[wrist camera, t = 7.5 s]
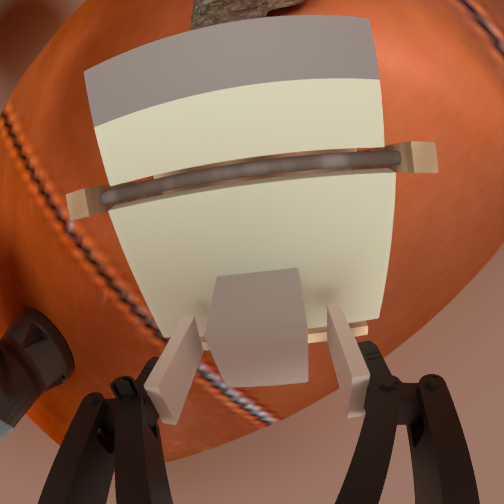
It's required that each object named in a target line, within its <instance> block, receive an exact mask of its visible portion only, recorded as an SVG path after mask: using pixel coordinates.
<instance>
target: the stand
mask: <svg viewBox="0 0 504 504" xmlns="http://www.w3.org/2000/svg"><path fill="white" fill-rule="evenodd" d="M382 168H390V169H391V170H393V171H394V172H407V173H438V163H437V153H436V145H435V142H419V141H409V142H404V143H398V144H393V145H388V146H384V147H378V148H374V149H369V150H364V151H360V152H357V148H344V149H327V150H314V151H302V152H292V153H282V154H273V155H265V156H258V157H250V158H243V159H236V160H230V161H224V162H218V163H212V164H206V165H201V166H196V167H190V168H185V169H181V170H176V171H171V172H166V173H162V174H158V175H153V177H154V179H152V180H147V181H137V182H128V183H121V184H117V185H114V186H110V185H104V186H97V187H90V188H84V189H81V190H78V191H75V192H72V193H69V194H66V199H67V205H68V211H69V216H70V221H73V220H76V219H80V218H84V217H88V216H92V215H95V214H98V213H102V212H105V211H108V210H110V209H111V208H112V207H113V206H114V205H117V204H122V203H126V202H130V201H135V200H139V199H144V198H149V197H154V196H159V195H164V194H169V193H174V192H179V191H184V190H190V189H196V188H201V187H207V186H213V185H220V184H226V183H233V182H240V181H247V180H254V179H262V178H270V177H279V176H287V175H297V174H307V173H318V172H330V171H344V170H361V169H382ZM348 324H349V326H350V328H351V331H352V333H353V335H354V337H355V336H361V335H367V334H368V324H367V323H366V321H359V322H353V323H348ZM200 339H201V343H202V347H203V350H210V349H209V347H208V344H207V342H206V340H205V337H200ZM322 341H327V326H325V327H317V328H309V329H308V343H314V342H322Z"/></svg>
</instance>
